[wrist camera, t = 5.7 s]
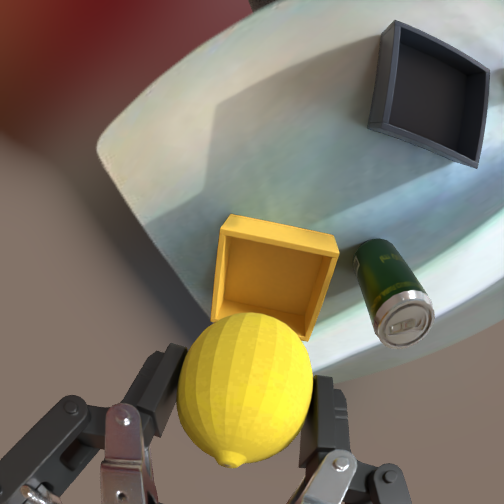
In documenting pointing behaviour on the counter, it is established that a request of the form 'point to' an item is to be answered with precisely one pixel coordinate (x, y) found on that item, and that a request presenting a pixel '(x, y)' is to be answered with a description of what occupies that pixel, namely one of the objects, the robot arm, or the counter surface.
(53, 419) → the robot arm
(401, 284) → the beer can
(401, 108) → the slate bin
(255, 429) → the lemon
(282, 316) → the yellow bin
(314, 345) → the counter surface
